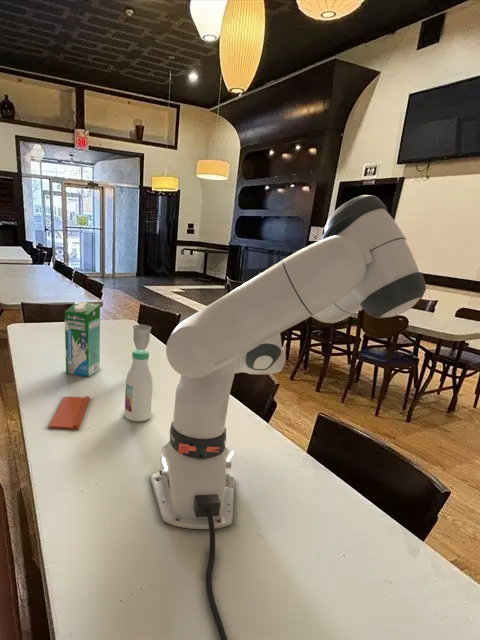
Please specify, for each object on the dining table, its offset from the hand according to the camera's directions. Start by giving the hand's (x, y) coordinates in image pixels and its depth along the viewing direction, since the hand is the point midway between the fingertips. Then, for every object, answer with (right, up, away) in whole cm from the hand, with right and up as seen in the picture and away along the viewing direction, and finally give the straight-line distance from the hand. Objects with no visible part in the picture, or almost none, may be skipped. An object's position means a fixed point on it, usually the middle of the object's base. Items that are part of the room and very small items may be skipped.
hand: (176, 354), depth 115 cm
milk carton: (-35, -4, +38) cm, 52 cm away
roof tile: (-31, -17, +6) cm, 36 cm away
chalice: (-14, -5, +40) cm, 43 cm away
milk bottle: (-12, -18, +7) cm, 23 cm away
